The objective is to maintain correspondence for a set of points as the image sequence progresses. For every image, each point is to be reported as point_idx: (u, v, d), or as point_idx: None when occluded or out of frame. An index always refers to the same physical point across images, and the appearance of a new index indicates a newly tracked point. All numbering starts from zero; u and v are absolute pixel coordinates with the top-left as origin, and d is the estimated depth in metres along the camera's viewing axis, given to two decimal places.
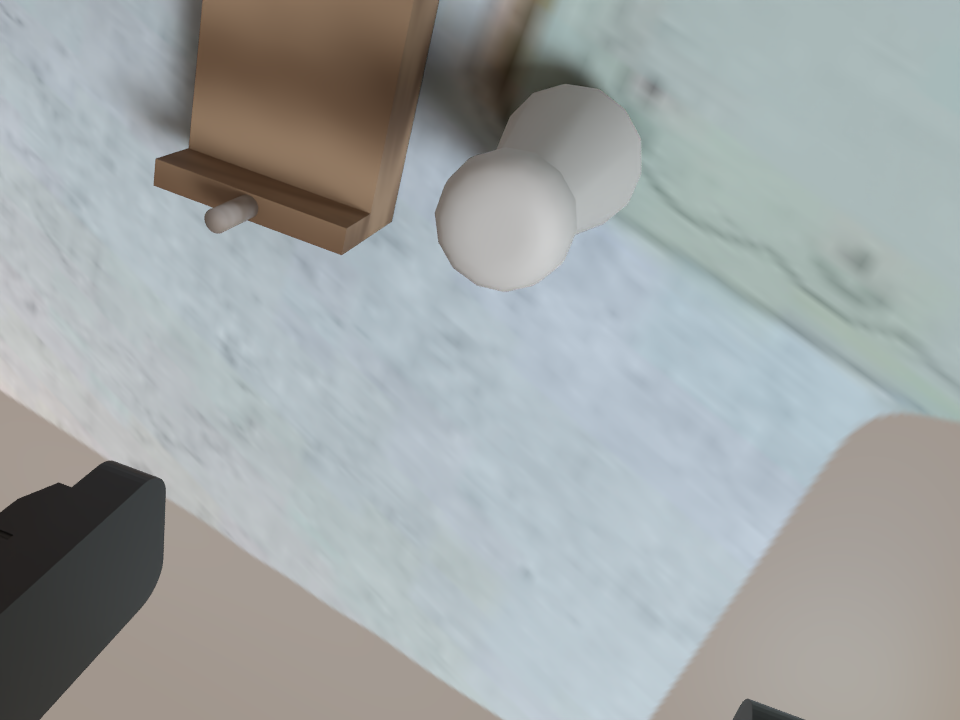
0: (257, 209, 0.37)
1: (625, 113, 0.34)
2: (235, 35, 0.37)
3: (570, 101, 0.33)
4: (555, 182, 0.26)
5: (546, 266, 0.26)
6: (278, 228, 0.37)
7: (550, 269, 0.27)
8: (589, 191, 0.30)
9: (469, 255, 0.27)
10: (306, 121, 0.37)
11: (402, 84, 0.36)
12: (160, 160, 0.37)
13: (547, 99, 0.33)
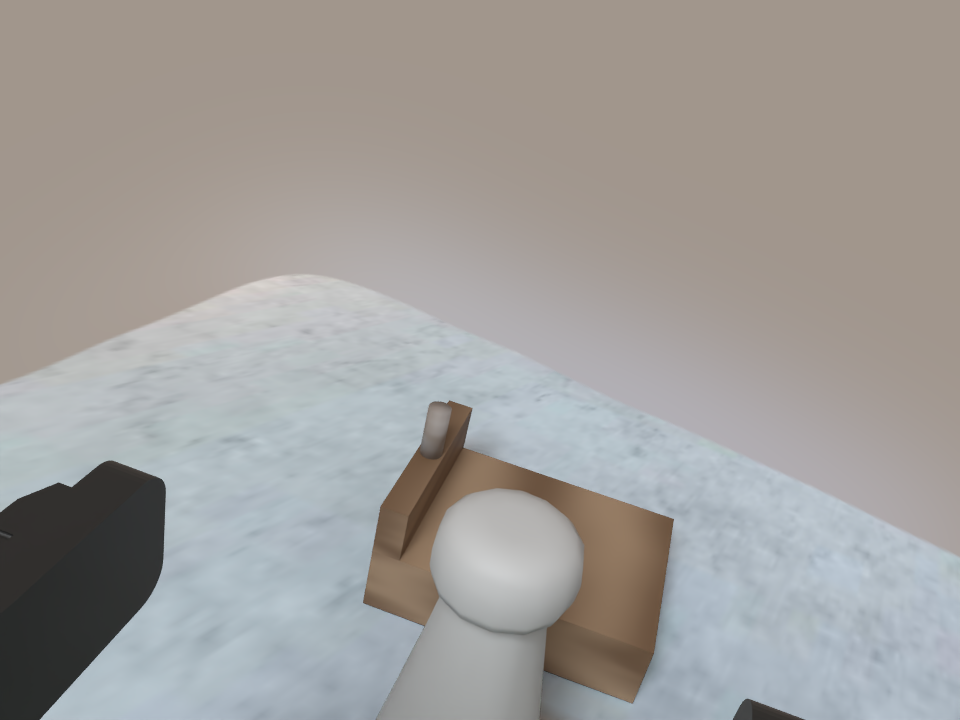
0: (427, 458, 0.39)
1: None
2: (560, 502, 0.42)
3: None
4: (561, 596, 0.24)
5: (477, 563, 0.23)
6: (409, 467, 0.38)
7: (470, 570, 0.23)
8: (485, 701, 0.25)
9: (489, 500, 0.25)
10: None
11: None
12: (470, 410, 0.43)
13: None
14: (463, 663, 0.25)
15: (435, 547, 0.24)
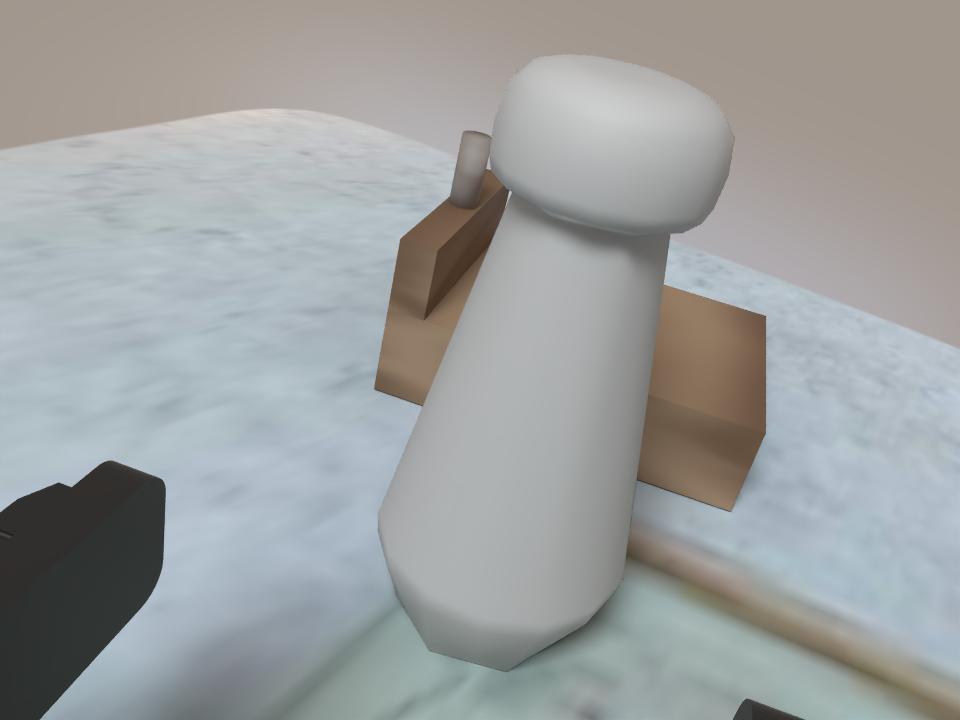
0: (459, 207, 0.30)
1: (591, 605, 0.19)
2: None
3: None
4: (706, 165, 0.15)
5: (575, 98, 0.14)
6: (436, 212, 0.29)
7: (564, 108, 0.14)
8: (571, 372, 0.16)
9: (582, 55, 0.16)
10: None
11: None
12: None
13: None
14: (540, 306, 0.16)
15: (501, 111, 0.16)
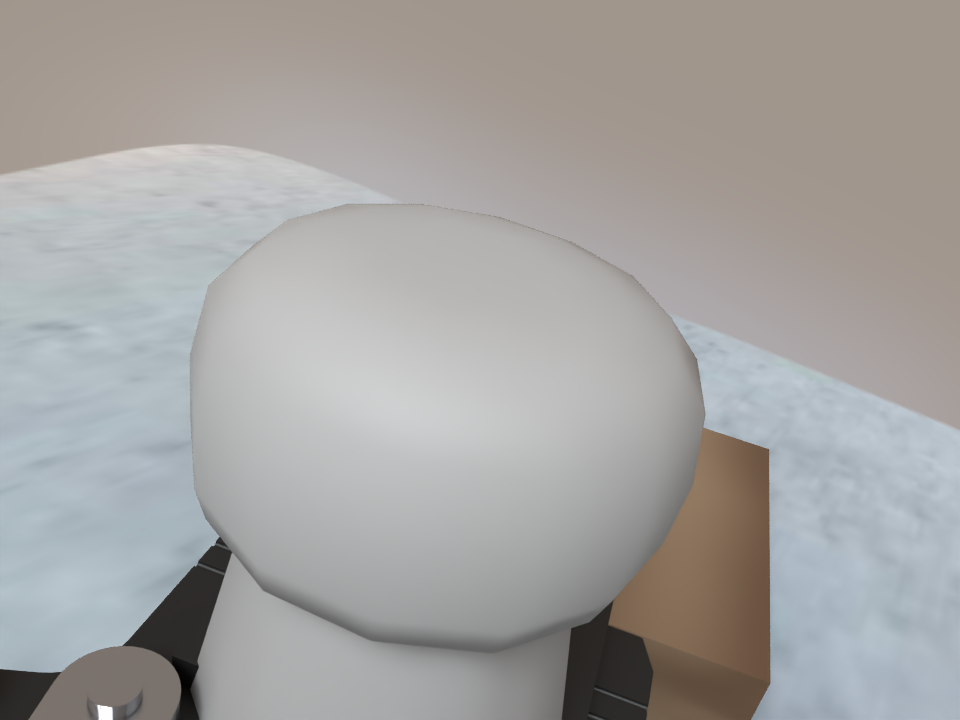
0: None
1: None
2: None
3: None
4: (635, 509, 0.06)
5: (308, 369, 0.06)
6: None
7: (281, 395, 0.06)
8: None
9: (388, 213, 0.08)
10: None
11: None
12: None
13: None
14: None
15: (194, 349, 0.07)
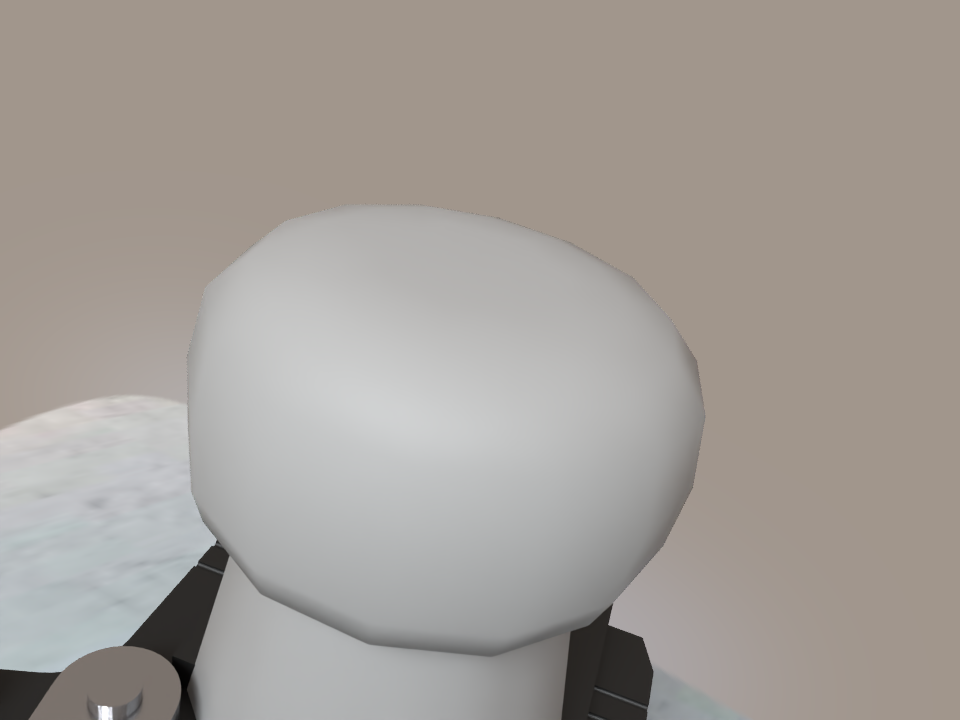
0: None
1: None
2: None
3: None
4: (635, 512, 0.06)
5: (306, 370, 0.06)
6: None
7: (278, 398, 0.06)
8: None
9: (386, 214, 0.08)
10: None
11: None
12: None
13: None
14: None
15: (192, 351, 0.07)
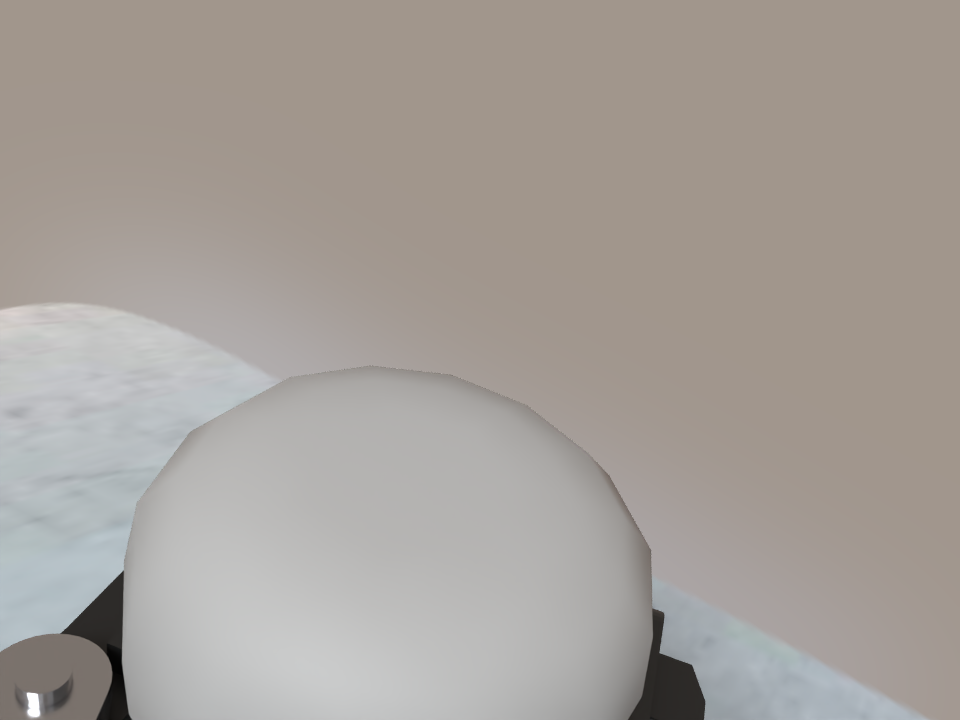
0: None
1: None
2: None
3: None
4: None
5: (226, 646, 0.06)
6: None
7: (199, 674, 0.06)
8: None
9: (328, 401, 0.07)
10: None
11: None
12: None
13: None
14: None
15: (126, 563, 0.07)
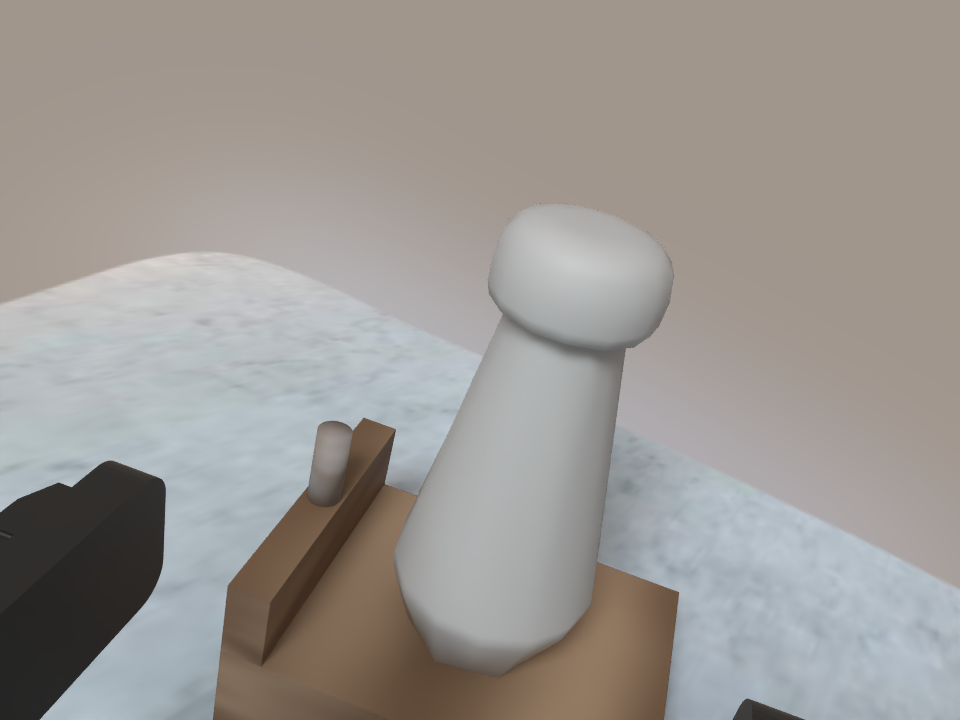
0: (317, 504, 0.26)
1: (565, 626, 0.24)
2: None
3: None
4: (651, 301, 0.20)
5: (553, 253, 0.19)
6: (286, 520, 0.25)
7: (545, 261, 0.19)
8: (550, 448, 0.21)
9: (559, 207, 0.21)
10: None
11: None
12: (393, 433, 0.30)
13: None
14: (526, 399, 0.21)
15: (497, 253, 0.20)
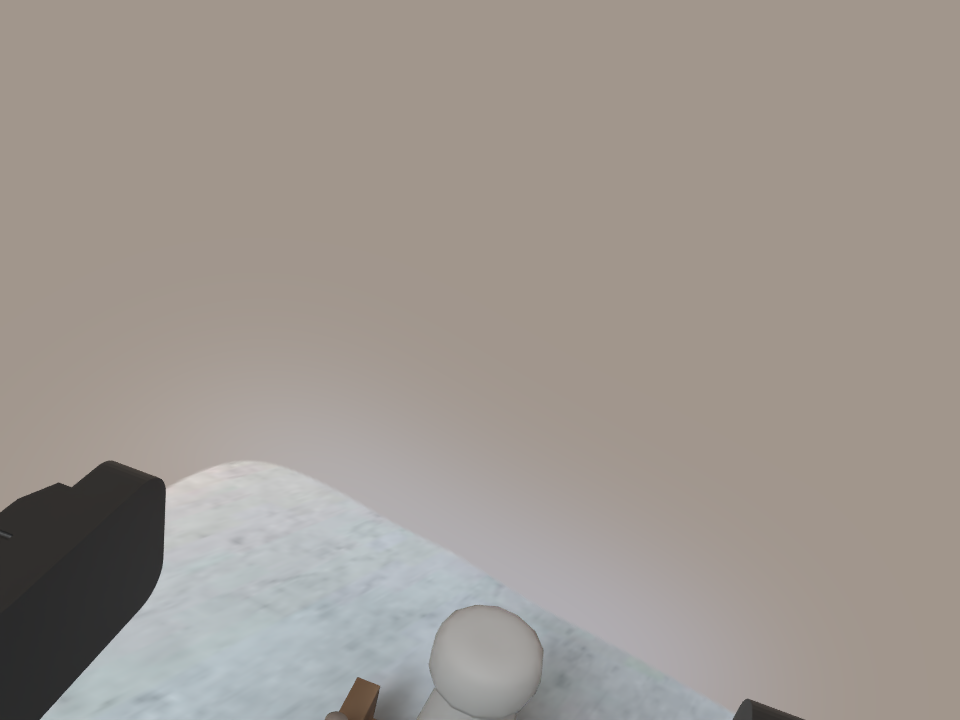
0: None
1: None
2: None
3: None
4: (525, 692, 0.32)
5: (464, 669, 0.32)
6: None
7: (459, 674, 0.32)
8: None
9: (473, 617, 0.34)
10: None
11: None
12: (378, 689, 0.43)
13: None
14: None
15: (433, 653, 0.33)
